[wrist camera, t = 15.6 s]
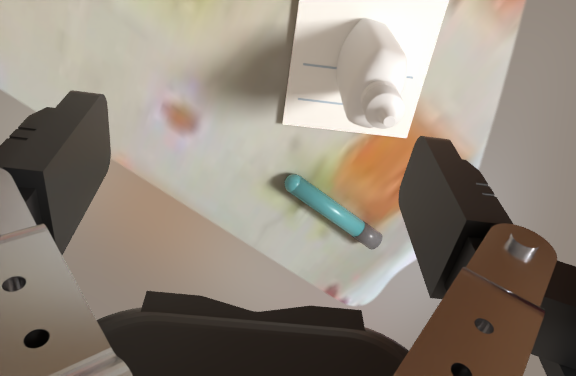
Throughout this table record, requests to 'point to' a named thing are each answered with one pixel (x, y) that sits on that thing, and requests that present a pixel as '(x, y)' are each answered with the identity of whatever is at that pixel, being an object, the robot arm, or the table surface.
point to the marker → (333, 211)
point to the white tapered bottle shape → (372, 76)
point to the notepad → (326, 47)
